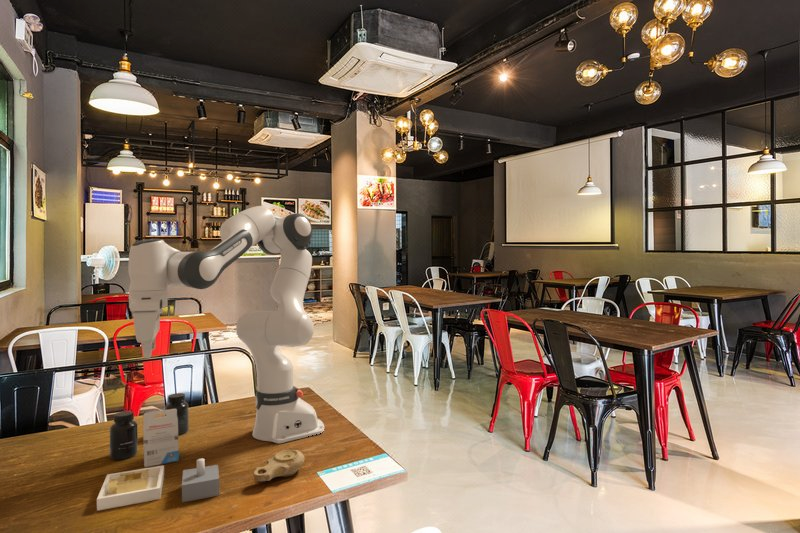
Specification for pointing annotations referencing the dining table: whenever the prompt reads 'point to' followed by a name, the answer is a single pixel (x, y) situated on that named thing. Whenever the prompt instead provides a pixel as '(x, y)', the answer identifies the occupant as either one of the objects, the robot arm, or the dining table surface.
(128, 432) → the supplement bottle
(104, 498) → the tray
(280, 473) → the oil lamp
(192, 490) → the grey pegged cube
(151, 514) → the dining table surface
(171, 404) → the supplement bottle
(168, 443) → the ink box
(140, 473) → the tan square frame block
